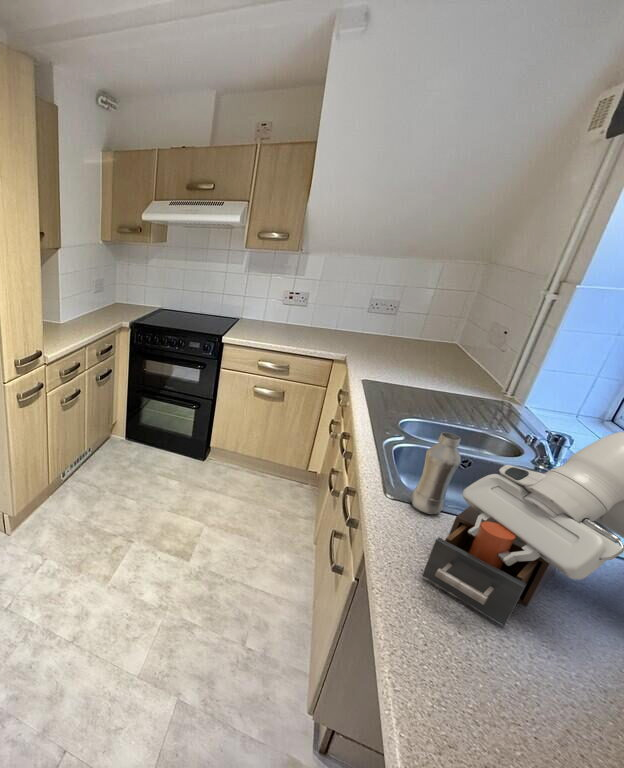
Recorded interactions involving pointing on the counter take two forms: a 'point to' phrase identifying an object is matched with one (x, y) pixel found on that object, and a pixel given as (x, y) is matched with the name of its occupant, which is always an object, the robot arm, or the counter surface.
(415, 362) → the counter surface
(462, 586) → the drawer
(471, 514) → the cabinet
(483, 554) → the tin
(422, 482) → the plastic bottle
